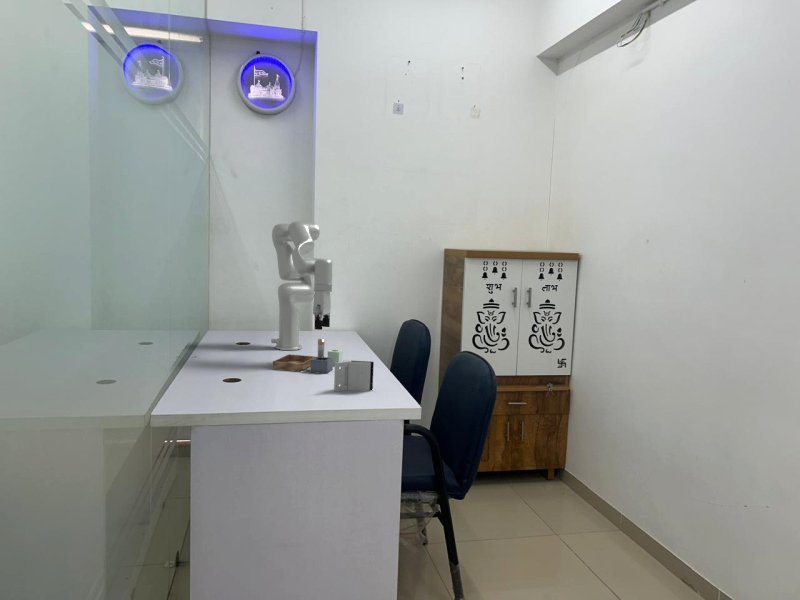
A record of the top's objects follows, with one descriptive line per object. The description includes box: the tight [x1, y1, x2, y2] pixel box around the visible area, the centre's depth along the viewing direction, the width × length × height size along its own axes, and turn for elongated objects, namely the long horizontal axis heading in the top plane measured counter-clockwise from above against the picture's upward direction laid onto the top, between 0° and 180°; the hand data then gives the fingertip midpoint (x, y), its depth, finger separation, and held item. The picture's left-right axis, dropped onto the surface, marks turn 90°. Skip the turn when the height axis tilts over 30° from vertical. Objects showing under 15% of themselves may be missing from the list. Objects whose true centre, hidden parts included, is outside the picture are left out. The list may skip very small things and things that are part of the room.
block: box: [309, 356, 334, 374], centre depth 226 cm, size 7×7×5 cm
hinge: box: [333, 359, 375, 392], centre depth 200 cm, size 14×5×10 cm, turn 101°
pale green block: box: [327, 349, 344, 367], centre depth 240 cm, size 5×5×6 cm
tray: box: [272, 354, 316, 372], centre depth 233 cm, size 13×17×3 cm
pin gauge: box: [317, 338, 326, 357], centre depth 243 cm, size 3×3×10 cm
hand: (322, 328), depth 242 cm, fingers open, 9 cm apart
